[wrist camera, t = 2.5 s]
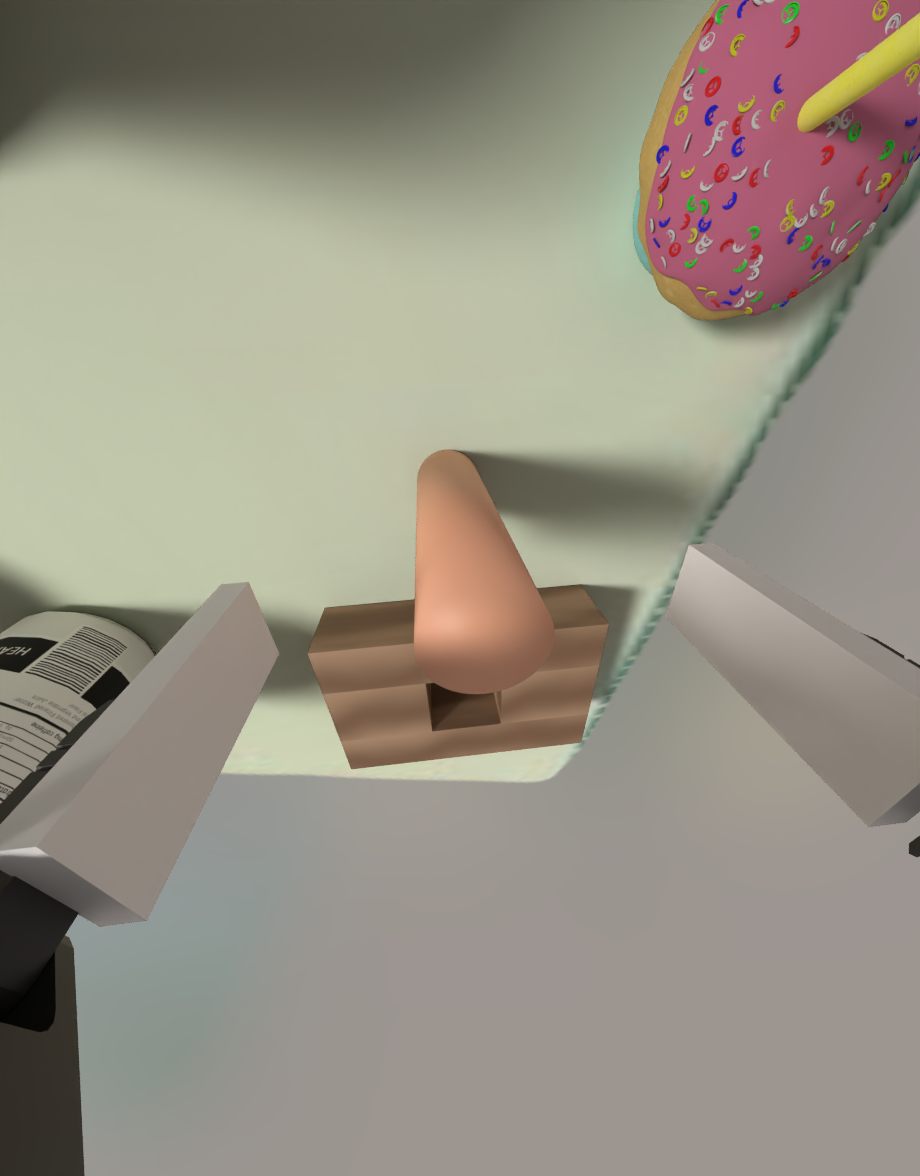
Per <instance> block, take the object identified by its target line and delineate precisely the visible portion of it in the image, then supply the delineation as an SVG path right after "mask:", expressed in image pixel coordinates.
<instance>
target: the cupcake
mask: <svg viewBox="0 0 920 1176" xmlns="http://www.w3.org/2000/svg"><path fill="white" fill-rule="evenodd" d="M919 156H920V0H716V1H715V3H714V4H713V5H712V6H711V8H710V9H709V10H708V12H707V13H706V14H705V16H704V17H703V19H702V20H701V21H700V23H699V24H698V26H697V27H696V29H695V30H694V32H693V33H692V35H691V36H690V38H689V39H688V41H687V42H686V44H685V46H684V47H683V49H682V51H681V52H680V54H679V56H678V57H677V59H676V61H675V63H674V65H673V67H672V69H671V70H670V72H669V74H668V77H667V79H666V81H665V83H664V86H663V89H662V91H661V94H660V97H659V100H658V103H657V106H656V109H655V112H654V115H653V118H652V121H651V124H650V126H649V129H648V131H647V134H646V137H645V139H644V142H643V146H642V150H641V155H640V163H639V180H640V188H639V191H638V195H637V199H636V203H635V209H634V217H633V236H634V243H635V247H636V251H637V254H638V256H639V259H640V261H641V263H642V264H643V266H644V267H645V268H646V270H647V271H648V272H650V273H651V274H652V275H653V277H654V280H655V282H656V285H657V287H658V290H659V292H660V293H661V295H662V296H663V297H664V298H665V299H666V300H667V301H668V302H670V303H672V304H673V305H675V306H677V307H678V308H679V309H681V310H682V311H683V312H685V313H686V314H688V315H689V316H691V317H693V318H695V319H699V320H708V321H710V320H721V319H727V318H732V317H736V316H740V315H744V314H748V315H750V316H754V315H758V314H761V313H763V312H766V311H768V310H770V309H775V308H777V307H778V306H779V305H780V307H783V306H785V305H786V304H787V302H788V301H789V299H791V298H793V297H795V296H796V295H797V294H799V293H800V292H802V291H803V290H805V289H807V288H808V287H810V286H811V285H813V284H814V283H816V282H817V281H819V280H820V279H822V278H823V277H824V276H826V275H827V274H828V273H829V272H831V271H832V270H833V269H834V268H835V267H836V266H837V265H838V264H840V263H841V262H843V261H845V260H846V259H847V258H848V257H849V256H850V255H851V253H853V252H854V251H855V249H856V248H857V247H858V245H859V242H860V240H861V239H862V238H863V237H865V236H867V235H868V234H870V233H871V232H872V230H873V229H874V228H875V226H876V223H875V221H876V220H877V218H878V217H879V216H880V214H881V213H882V212H885V211H886V210H887V207H888V203H889V202H890V200H891V199H892V197H893V196H894V194H895V193H896V191H897V190H898V188H899V187H900V185H901V184H902V185H903V184H904V183H905V182H906V179H907V177H908V174H909V171H910V169H911V167H912V165H913V163H914V162H915V161H916V160H917V159H918V157H919ZM871 227H872V228H871ZM870 228H871V230H870V231H868V230H869V229H870ZM783 303H784V304H783Z"/></svg>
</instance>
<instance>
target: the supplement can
mask: <svg viewBox="0 0 920 1176" xmlns="http://www.w3.org/2000/svg"><path fill="white" fill-rule="evenodd" d="M154 657H155V656H154V653H153V652H152V651H151V649H150V648H149V646H148V645H147V644H146V642H145V641H144V640H143V639H141V638H140V637H139V636H138V635H136V634H135V633H134V632H132V631H131V630H130V629H128V628H126V627H124V626H122V625H120V624H118V623H116V622H114V621H112V620H110V619H107V618H103V617H99V616H95V615H91V614H87V613H75V612H53V611H47V612H43V613H39V614H35V615H31V616H27V617H25V618H23V619H22V620H20V621H19V622H17V623H16V624H14V625H13V626H11V627H10V628H8V629H7V630H5V631H4V632H2V633H1V634H0V804H1V803H2V802H3V801H4V800H5V798H6V797H7V796H8V795H9V794H10V793H11V792H12V791H13V790H14V789H15V788H16V787H17V786H18V785H19V784H20V783H21V782H22V781H23V780H24V779H25V778H26V777H27V776H28V775H29V774H30V773H31V772H35V771H36V766H37V765H38V764H39V763H40V762H41V761H42V760H43V759H44V758H45V757H46V756H47V755H48V754H49V753H50V752H51V751H54V750H56V749H57V745H58V743H59V742H60V741H61V740H62V739H63V738H64V737H65V736H66V735H67V734H68V733H69V732H70V731H71V730H72V729H73V728H74V727H75V726H76V725H77V724H78V723H79V722H80V721H81V720H82V719H84V718H85V717H87V716H88V715H89V714H91V713H92V712H93V711H95V710H96V709H98V708H99V707H100V706H102V705H103V704H105V703H106V702H107V701H109V700H114V699H116V698H117V697H118V696H119V695H120V694H121V693H122V692H123V691H124V690H125V688H126V687H127V686H128V685H129V684H130V683H131V682H132V681H133V680H134V679H135V678H136V676H137V675H138V674H139V673H140V672H141V671H142V670H143V669H144V668H145V667H146V666H147V665H148V663H149V662H150V661H151V660H152V659H153V658H154Z"/></svg>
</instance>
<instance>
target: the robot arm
mask: <svg viewBox="0 0 920 1176" xmlns="http://www.w3.org/2000/svg"><path fill="white" fill-rule="evenodd" d="M666 618H667V619H668V620H669V621H670V622H671V623H672V624H673V625H674V626H675V627H676V628H677V629H678V630H679V631H680V633H681V634H682V635H683V636H684V637H685V638H686V639H687V640H688V641H689V642H690V643H691V644H692V645H693V646H694V647H695V648H696V649H697V650H698V651H699V652H700V653H701V654H702V655H703V656H704V657H705V658H706V659H707V660H708V662H709V663H710V664H711V665H712V666H713V667H714V668H715V669H716V670H717V671H718V672H719V673H720V674H721V675H722V676H723V677H724V678H725V679H726V680H727V681H728V682H729V683H730V684H731V685H732V686H733V687H734V688H735V689H736V691H738V693H739V694H741V696H742V697H743V698H744V699H745V700H746V701H747V702H748V703H749V704H750V705H751V706H752V707H753V708H754V709H755V710H756V711H757V712H758V713H759V714H760V715H761V716H762V717H763V718H764V719H765V720H766V721H767V722H768V724H769V725H770V726H771V727H772V728H773V729H774V730H775V731H776V732H777V733H778V734H779V735H780V736H781V737H782V738H783V739H784V740H785V741H786V742H787V743H788V744H789V745H790V746H791V747H792V748H793V749H794V751H795V752H797V754H798V755H799V756H800V757H801V758H802V759H803V760H804V761H806V763H807V764H808V765H809V766H810V767H811V768H812V769H813V770H814V771H815V772H816V773H817V774H818V775H819V776H820V777H821V778H822V779H823V781H825V783H826V784H827V785H828V786H829V787H830V788H831V789H832V790H833V791H834V792H835V793H836V794H837V795H838V796H839V797H840V798H841V799H842V800H843V801H844V802H845V803H846V804H847V805H848V806H849V807H850V808H851V809H852V810H853V811H854V812H855V813H856V815H857V816H858V817H859V818H860V819H861V820H862V821H863V822H864V823H865V824H866V825H867V826H868V827H873V826H880V825H888V824H896V823H904V822H907V821H908V820H910V819H911V818H912V817H913V816H915V815H916V814H917V813H918V812H919V811H920V665H918V664H917V663H915V662H913V661H912V660H910V659H909V660H906V659H905V658H904V655H902V654H900V653H898V652H897V651H895V650H894V649H892V648H890V647H889V646H887V645H885V644H883V643H882V642H880V641H879V640H877V639H875V638H872V637H870V636H868V635H865V634H863V633H861V632H859V631H857V630H856V629H854V628H852V627H851V626H849V625H847V624H846V623H844V622H842V621H841V620H839V619H837V618H836V617H834V616H833V615H831V614H829V613H828V612H826V611H824V610H823V609H821V608H819V607H818V606H816V605H814V604H813V603H811V602H809V601H808V600H806V599H805V598H803V597H801V596H800V595H798V594H796V593H795V592H793V591H791V590H790V589H788V588H787V587H785V586H783V585H782V584H780V583H778V582H777V581H775V580H773V579H772V578H770V577H769V576H767V575H765V574H764V573H762V572H760V571H759V570H757V569H755V568H754V567H752V566H750V565H749V564H747V563H746V562H744V561H742V560H740V559H739V558H737V557H736V556H734V555H732V554H731V553H729V552H727V551H726V550H724V549H722V548H721V547H719V546H717V545H716V544H714V543H705V544H693V545H689V547H688V550H687V553H686V556H685V559H684V562H683V565H682V568H681V571H680V574H679V578H678V581H677V584H676V587H675V590H674V593H673V596H672V599H671V602H670V605H669V608H668V611H667V614H666ZM278 655H279V652H278V649H277V647H276V645H275V642H274V640H273V638H272V635H271V633H270V631H269V628H268V626H267V624H266V621H265V619H264V617H263V614H262V612H261V610H260V607H259V605H258V603H257V600H256V598H255V596H254V593H253V591H252V589H251V586H250V584H249V582H244V583H232V584H221V585H220V586H219V587H218V588H217V590H216V591H215V592H214V593H213V594H212V595H211V596H210V597H209V598H208V599H207V600H206V602H205V603H204V604H203V605H202V606H201V607H200V608H199V609H198V610H197V611H196V612H195V613H194V615H193V616H192V617H191V618H190V619H189V620H188V621H187V622H186V623H185V624H184V625H183V626H182V628H181V629H180V630H179V631H178V632H177V633H176V634H175V635H174V636H173V637H172V638H171V640H170V641H169V642H168V643H167V644H166V645H165V646H164V647H163V648H162V649H161V650H160V651H159V653H158V654H157V655H156V656H155V657H154V658H153V659H152V660H151V661H150V662H149V663H148V665H147V666H146V667H145V668H144V669H143V670H142V671H141V672H140V673H139V674H138V675H137V676H136V678H135V679H134V680H133V681H132V682H131V683H130V684H129V685H128V686H127V687H126V688H125V690H124V691H123V692H122V693H121V694H120V695H119V696H118V697H117V698H116V699H114V700H109V701H107V702H106V703H105V704H103V705H102V706H100V707H99V708H98V709H96V710H95V711H93V712H92V713H91V714H89V715H88V716H87V717H85V718H84V719H82V720H81V721H80V722H79V723H78V724H77V725H76V726H75V727H74V728H73V729H72V730H71V731H70V732H69V733H68V734H67V735H66V736H65V737H64V738H63V739H62V740H61V741H60V742H59V743H58V745H57V749H56V750H54V751H51V752H50V753H49V754H48V755H47V756H46V757H45V758H44V759H43V760H42V761H41V762H40V763H39V764H38V765H37V766H36V771H35V772H31V773H30V774H29V775H28V776H27V777H26V778H25V779H24V780H23V781H22V782H21V783H20V784H19V785H18V786H17V787H16V788H15V789H14V790H13V791H12V792H11V793H10V794H9V795H8V796H7V797H6V798H5V800H4V801H3V802H2V803H1V804H0V1176H84V1159H83V1158H84V1157H83V1136H82V1116H81V1093H80V1072H79V1052H78V1031H77V1009H76V988H75V966H74V948H73V946H72V943H71V941H70V939H69V937H67V936H65V934H66V933H67V931H68V929H69V927H70V926H71V925H72V923H73V921H74V920H75V918H76V917H77V915H78V914H79V915H80V916H82V917H84V918H86V919H88V920H89V921H91V922H93V923H94V924H96V925H98V926H100V927H101V926H108V925H116V924H124V923H132V922H139V921H146V920H147V919H148V917H149V915H150V913H151V911H152V909H153V907H154V905H155V903H156V901H157V899H158V897H159V894H160V893H161V891H162V889H163V887H164V885H165V883H166V881H167V879H168V877H169V875H170V873H171V871H172V869H173V867H174V865H175V863H176V861H177V859H178V857H179V855H180V853H181V851H182V849H183V847H184V845H185V843H186V840H187V838H188V837H189V835H190V832H191V831H192V829H193V827H194V824H195V822H196V820H197V818H198V816H199V814H200V812H201V810H202V808H203V806H204V804H205V802H206V800H207V798H208V796H209V794H210V792H211V790H212V788H213V786H214V784H215V782H216V780H217V778H218V776H219V774H220V772H221V770H222V768H223V766H224V764H225V762H226V760H227V758H228V756H229V754H230V752H231V750H232V748H233V746H234V744H235V742H236V740H237V738H238V736H239V734H240V732H241V730H242V728H243V726H244V724H245V722H246V720H247V718H248V716H249V714H250V712H251V710H252V708H253V706H254V704H255V702H256V700H257V698H258V696H259V694H260V692H261V690H262V688H263V686H264V684H265V682H266V680H267V678H268V676H269V674H270V672H271V670H272V668H273V666H274V664H275V662H276V659H277V657H278ZM909 854H911V855H913V856H915V857H919V856H920V836H919V837H917V838H916V839H914V840H913V841H912V842H910V843H909Z"/></svg>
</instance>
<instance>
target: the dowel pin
mask: <svg viewBox="0 0 920 1176" xmlns="http://www.w3.org/2000/svg"><path fill="white" fill-rule="evenodd" d="M554 639H555V630H554V624H553V621H552V618H551V616H550V614H549V612H548V610H547V608H546V606H545V604H544V602H543V600H542V598H541V596H540V594H539V592H538V590H537V588H536V586H535V584H534V582H533V580H532V578H531V576H530V574H529V572H528V570H527V568H526V566H525V564H524V563H523V561H522V559H521V557H520V555H519V553H518V551H517V549H516V547H515V545H514V543H513V541H512V539H511V537H510V535H509V533H508V531H507V529H506V527H505V525H504V523H503V521H502V519H501V517H500V515H499V513H498V511H497V509H496V507H495V505H494V503H493V501H492V499H491V497H490V495H489V493H488V491H487V489H486V487H485V486H484V484H483V482H482V480H481V478H480V476H479V474H478V472H477V470H476V468H475V466H474V464H473V463H472V461H471V460H470V459H469V458H468V457H467V456H466V455H464V454H462V453H460V452H458V451H454V450H442V451H438V452H436V453H434V454H432V455H430V456H429V457H428V458H427V459H426V460H425V461H424V462H423V464H422V465H421V467H420V470H419V473H418V479H417V521H416V566H415V611H414V654H415V658H416V661H417V663H418V666H419V667H420V669H421V670H422V672H423V673H424V674H425V675H426V676H427V677H428V678H429V679H430V680H431V681H433V682H434V683H436V684H437V685H439V686H441V687H443V688H445V689H448V690H451V691H454V692H459V693H465V694H487V693H493V692H498V691H502V690H505V689H508V688H511V687H513V686H515V685H517V684H519V683H521V682H523V681H525V680H526V679H527V678H529V677H530V676H532V675H533V674H534V673H535V672H536V671H537V670H538V669H539V668H540V667H541V666H542V665H543V664H544V662H545V661H546V660H547V658H548V656H549V654H550V653H551V650H552V647H553V644H554Z"/></svg>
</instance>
